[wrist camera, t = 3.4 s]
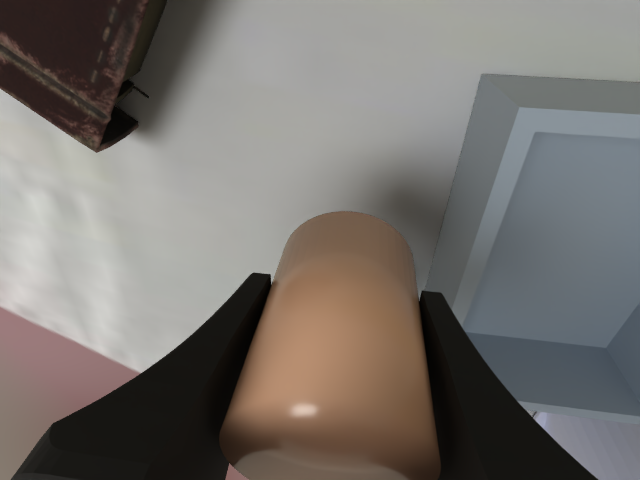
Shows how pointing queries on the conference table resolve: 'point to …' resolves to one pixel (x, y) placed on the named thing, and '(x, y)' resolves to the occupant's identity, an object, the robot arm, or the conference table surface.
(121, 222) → the conference table surface
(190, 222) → the conference table surface
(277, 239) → the conference table surface
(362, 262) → the terracotta cylinder
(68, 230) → the conference table surface
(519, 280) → the box
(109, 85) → the diary
